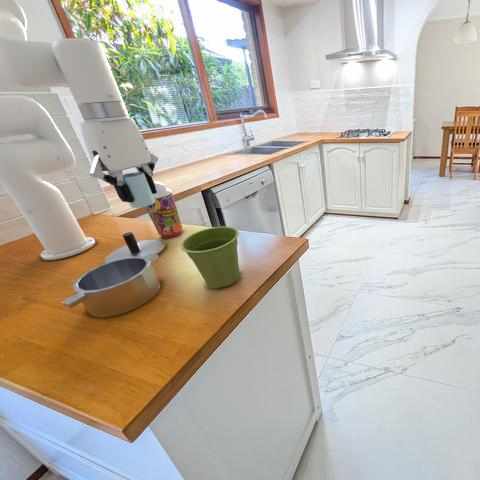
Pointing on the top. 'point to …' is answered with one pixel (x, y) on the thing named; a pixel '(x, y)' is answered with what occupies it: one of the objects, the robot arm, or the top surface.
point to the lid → (135, 248)
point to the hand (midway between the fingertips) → (140, 196)
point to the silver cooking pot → (116, 286)
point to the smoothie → (164, 212)
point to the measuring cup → (139, 189)
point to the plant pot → (214, 255)
